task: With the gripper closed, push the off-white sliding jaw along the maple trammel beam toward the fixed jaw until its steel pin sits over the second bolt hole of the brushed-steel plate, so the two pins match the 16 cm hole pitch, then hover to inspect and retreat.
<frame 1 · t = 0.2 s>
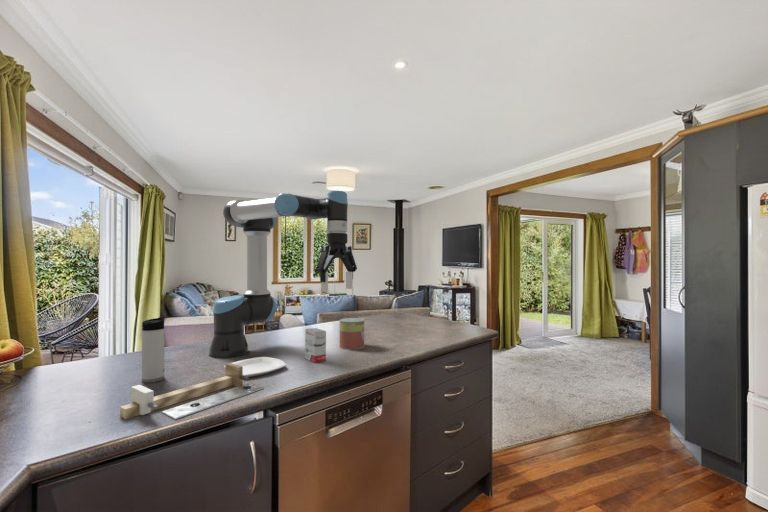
hand: (337, 290, 136), 28 cm above the worktop, fingers open, 13 cm apart
canned food: (351, 347, 164), on the worktop
ink box: (315, 360, 143), on the worktop
travel mug: (153, 380, 120), on the worktop
beam: (187, 397, 105), on the worktop
hole plate: (217, 399, 103), on the worktop
plate: (255, 370, 131), on the worktop
slider: (145, 401, 93), point 3 cm above the worktop, slide at 0.0 cm
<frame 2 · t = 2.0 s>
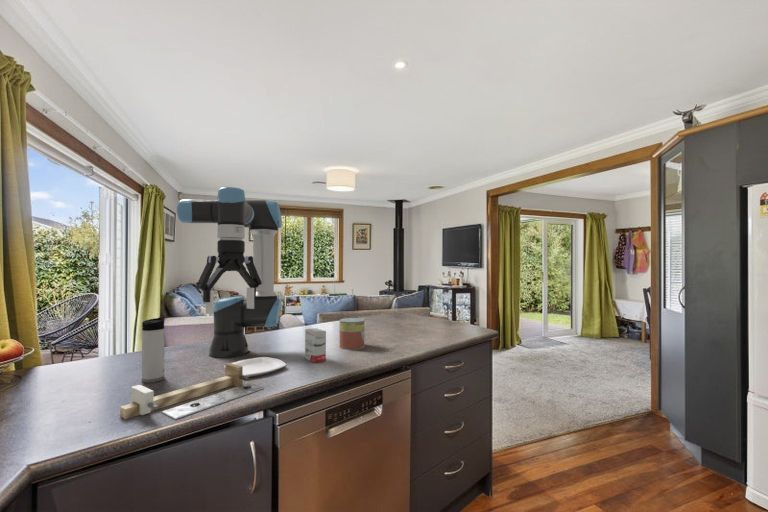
hand: (231, 311, 109), 24 cm above the worktop, fingers open, 13 cm apart
nothing on the worktop moved.
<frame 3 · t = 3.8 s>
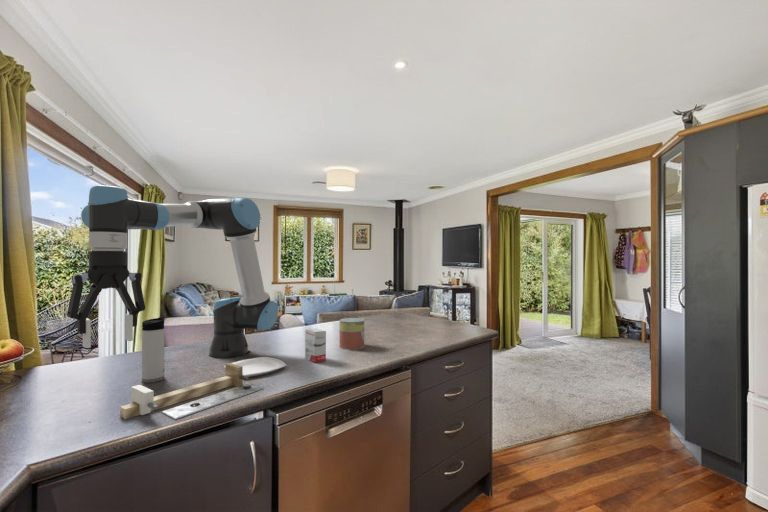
hand: (108, 343, 89), 19 cm above the worktop, fingers open, 8 cm apart
nothing on the worktop moved.
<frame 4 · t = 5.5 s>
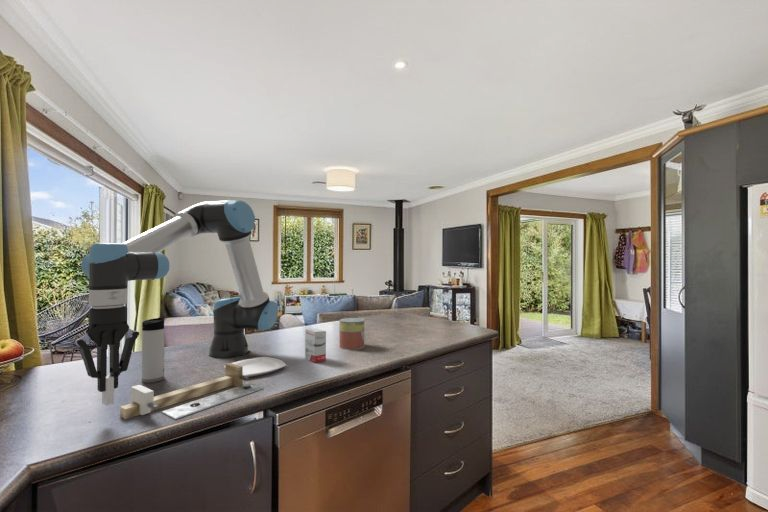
hand: (107, 403, 89), 5 cm above the worktop, fingers closed
nothing on the worktop moved.
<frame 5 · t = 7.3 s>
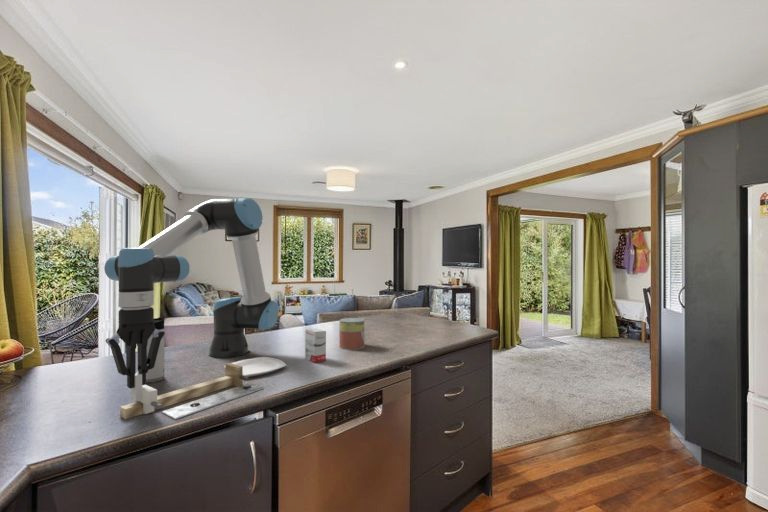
hand: (136, 399, 94), 4 cm above the worktop, fingers closed
slider: (148, 400, 94), point 3 cm above the worktop, slide at 0.9 cm, touching gripper
everything else where it was.
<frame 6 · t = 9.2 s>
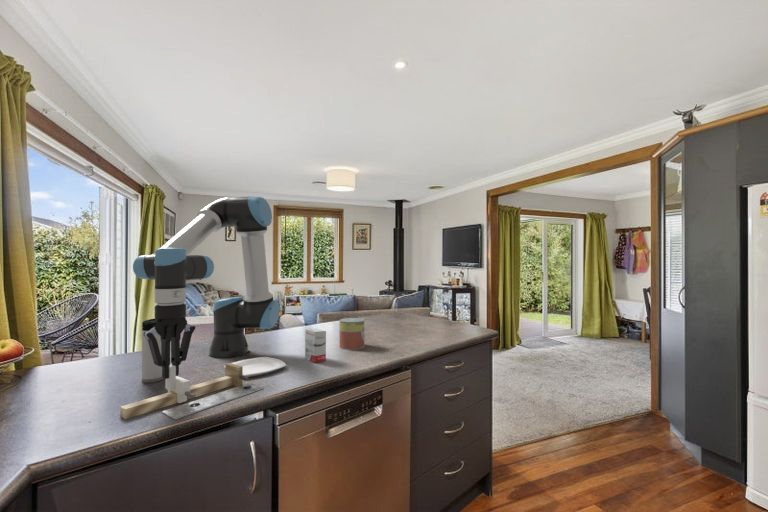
hand: (170, 388, 101), 4 cm above the worktop, fingers closed
slider: (182, 390, 101), point 3 cm above the worktop, slide at 9.2 cm, touching gripper
everything else where it was.
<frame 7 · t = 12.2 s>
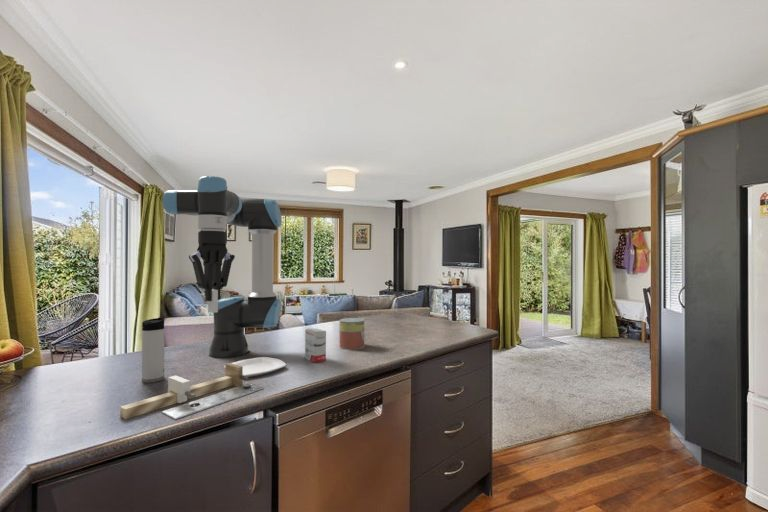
hand: (212, 312, 106), 24 cm above the worktop, fingers closed
slider: (182, 390, 101), point 3 cm above the worktop, slide at 9.2 cm
everything else where it was.
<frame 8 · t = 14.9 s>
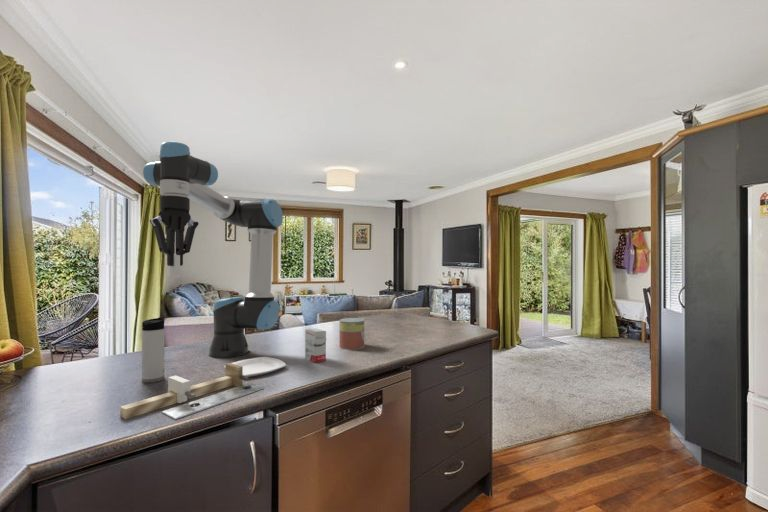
hand: (175, 277, 107), 34 cm above the worktop, fingers closed
nothing on the worktop moved.
at the end: slider slide at 9.2 cm; slider touching nothing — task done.
